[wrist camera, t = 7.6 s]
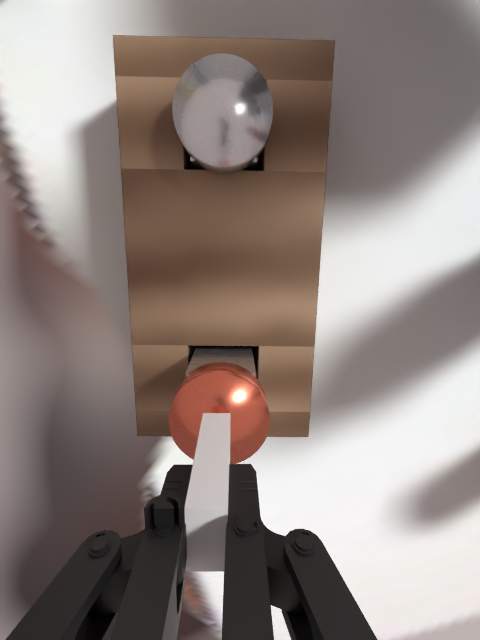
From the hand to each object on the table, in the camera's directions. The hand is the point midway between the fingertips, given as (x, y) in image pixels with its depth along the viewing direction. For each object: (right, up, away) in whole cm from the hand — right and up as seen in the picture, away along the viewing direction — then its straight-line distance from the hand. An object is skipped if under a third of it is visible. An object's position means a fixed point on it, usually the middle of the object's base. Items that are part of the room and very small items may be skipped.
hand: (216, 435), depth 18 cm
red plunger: (0, +2, +9) cm, 9 cm away
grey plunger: (0, +20, +9) cm, 22 cm away
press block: (0, +12, +11) cm, 16 cm away
